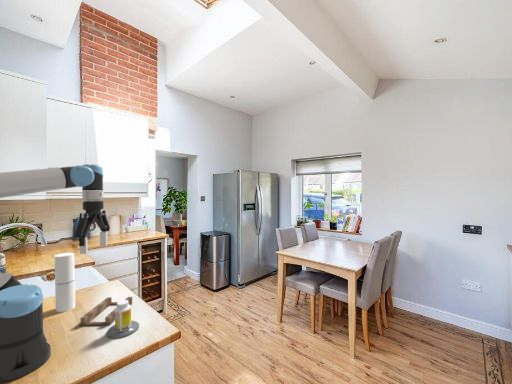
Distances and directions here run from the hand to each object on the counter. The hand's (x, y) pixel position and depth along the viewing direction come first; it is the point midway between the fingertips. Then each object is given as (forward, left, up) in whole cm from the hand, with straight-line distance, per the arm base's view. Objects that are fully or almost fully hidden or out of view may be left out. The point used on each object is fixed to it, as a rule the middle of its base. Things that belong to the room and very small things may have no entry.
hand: (94, 249), depth 107 cm
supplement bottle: (-12, -18, -28) cm, 36 cm away
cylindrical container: (+7, +18, -29) cm, 35 cm away
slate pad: (-12, -18, -29) cm, 36 cm away
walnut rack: (+1, -5, -29) cm, 29 cm away
